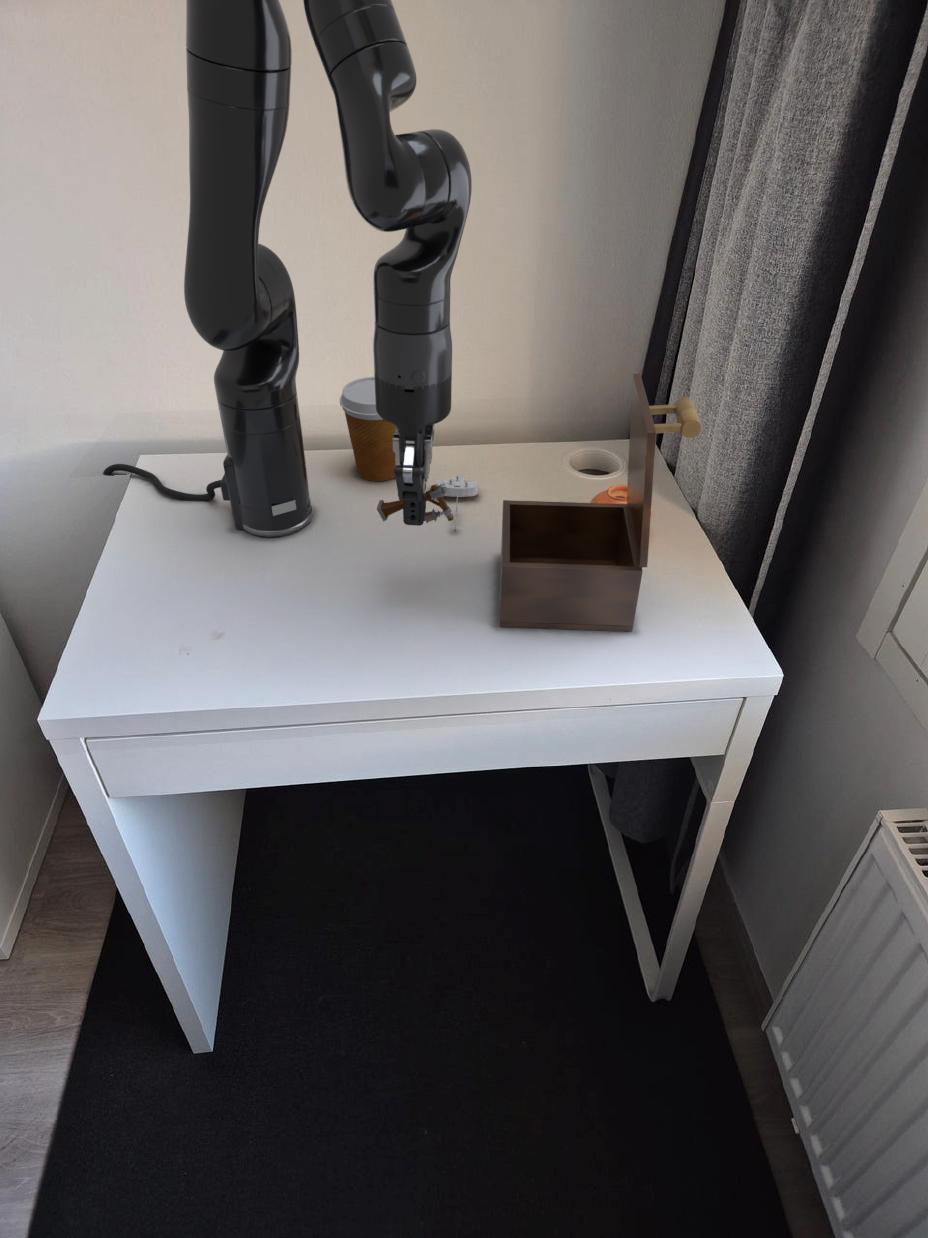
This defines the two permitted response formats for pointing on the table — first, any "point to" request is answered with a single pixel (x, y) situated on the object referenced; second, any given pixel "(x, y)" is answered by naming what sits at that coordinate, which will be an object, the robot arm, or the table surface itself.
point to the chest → (568, 566)
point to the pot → (613, 496)
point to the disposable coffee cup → (368, 431)
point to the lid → (650, 456)
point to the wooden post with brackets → (430, 495)
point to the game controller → (459, 488)
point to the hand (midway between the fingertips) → (414, 517)
